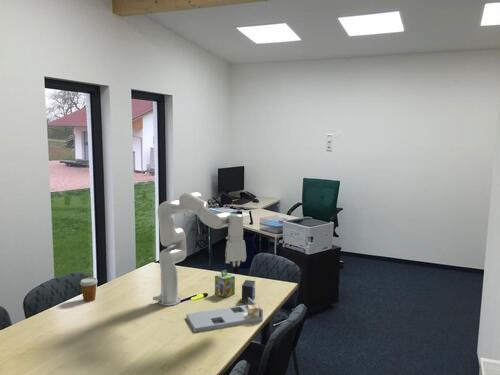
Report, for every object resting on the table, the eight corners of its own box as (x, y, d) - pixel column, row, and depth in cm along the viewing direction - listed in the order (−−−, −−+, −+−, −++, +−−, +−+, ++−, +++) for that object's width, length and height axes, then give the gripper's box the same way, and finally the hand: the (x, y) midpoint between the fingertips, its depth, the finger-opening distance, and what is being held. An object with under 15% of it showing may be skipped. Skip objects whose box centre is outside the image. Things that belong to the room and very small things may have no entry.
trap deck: (195, 332, 193) (195, 320, 193) (186, 317, 210) (186, 306, 209) (262, 320, 207) (262, 309, 207) (249, 307, 224) (249, 297, 223)
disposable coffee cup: (101, 297, 238) (100, 277, 236) (93, 303, 228) (92, 283, 227) (85, 296, 238) (85, 277, 237) (77, 302, 229) (76, 282, 228)
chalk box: (225, 298, 238) (225, 274, 236) (214, 294, 244) (214, 271, 242) (235, 294, 245) (235, 270, 244) (224, 290, 251) (224, 267, 249)
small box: (252, 304, 230) (252, 286, 229) (241, 303, 231) (241, 285, 230) (255, 297, 240) (255, 280, 239) (245, 296, 241) (245, 279, 240)
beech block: (249, 318, 205) (249, 308, 205) (247, 314, 210) (247, 305, 210) (259, 317, 206) (259, 308, 206) (256, 313, 211) (256, 304, 211)
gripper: (224, 241, 197) (224, 277, 199) (251, 238, 203) (251, 273, 205) (219, 237, 204) (219, 272, 206) (246, 235, 210) (246, 269, 212)
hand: (235, 273), depth 205 cm, fingers closed
